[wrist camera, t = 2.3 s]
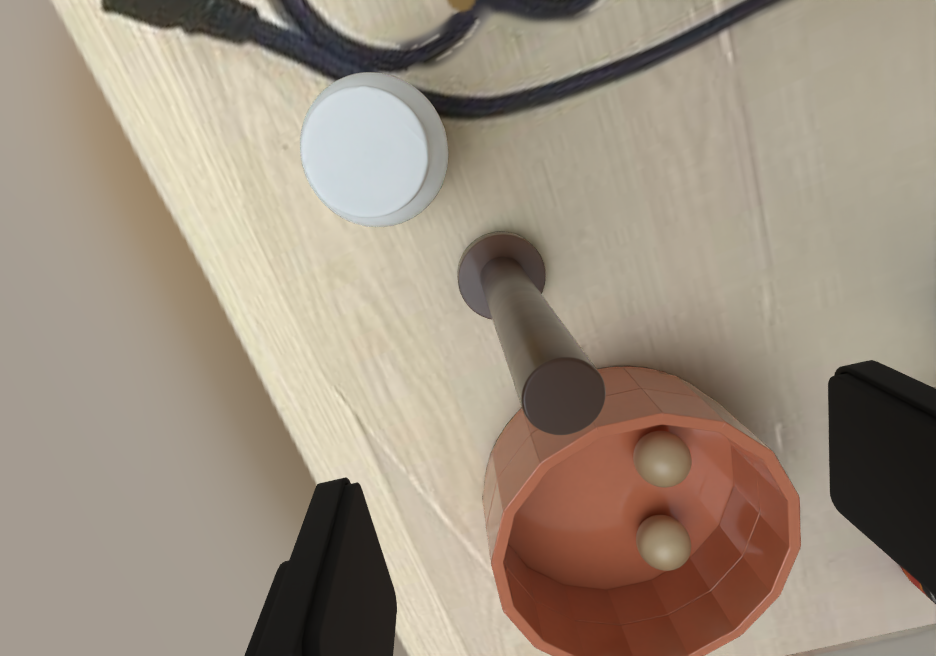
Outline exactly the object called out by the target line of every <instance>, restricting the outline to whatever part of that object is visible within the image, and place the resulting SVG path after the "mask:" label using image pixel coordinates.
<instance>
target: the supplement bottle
mask: <svg viewBox="0 0 936 656" xmlns="http://www.w3.org/2000/svg"><path fill="white" fill-rule="evenodd" d="M300 154H301V161H302V165H303V169H304V172H305V175H306V177H307V180H308V182H309V184H310V186H311V187H312V189H313V191H314V192H315V194H316V195H317V196H318V198H319V199H320V200H321V201H322V202H323V203H324V204H325V205H326V206H327V207H328V208H329V209H330V210H331V211H333V212H334V213H335V214H337V215H339V216H340V217H342V218H344V219H346V220H348V221H350V222H353V223H356V224H359V225H363V226H369V227H387V226H393V225H396V224H400V223H403V222H405V221H408V220H410V219H411V218H413V217H415V216H416V215H418V214H419V213H421V212H422V211H423V210H424V209H425V208H426V207H427V206H428V205H429V204H430V203H431V202H432V201H433V199H434V198H435V197H436V195H437V193H438V192H439V190H440V189H441V187H442V184H443V182H444V178H445V175H446V171H447V166H448V143H447V136H446V133H445V129H444V126H443V123H442V121H441V119H440V117H439V115H438V113H437V111H436V110H435V108H434V107H433V105H432V104H431V103H430V101H429V100H428V99H427V98H426V97H425V96H424V95H423V94H422V93H421V92H420V91H419V90H417V89H416V88H415V87H414V86H412V85H411V84H409V83H407V82H406V81H404V80H401V79H399V78H397V77H394V76H391V75H387V74H383V73H373V72H365V73H357V74H353V75H349V76H346V77H344V78H341V79H339V80H337V81H335V82H334V83H332V84H331V85H329V86H328V87H327V88H326V89H324V90H323V91H322V92H321V93H320V94H319V95H318V97H317V98H316V99H315V100H314V102H313V103H312V105H311V106H310V108H309V110H308V112H307V114H306V116H305V119H304V122H303V126H302V130H301V137H300Z"/></svg>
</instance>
